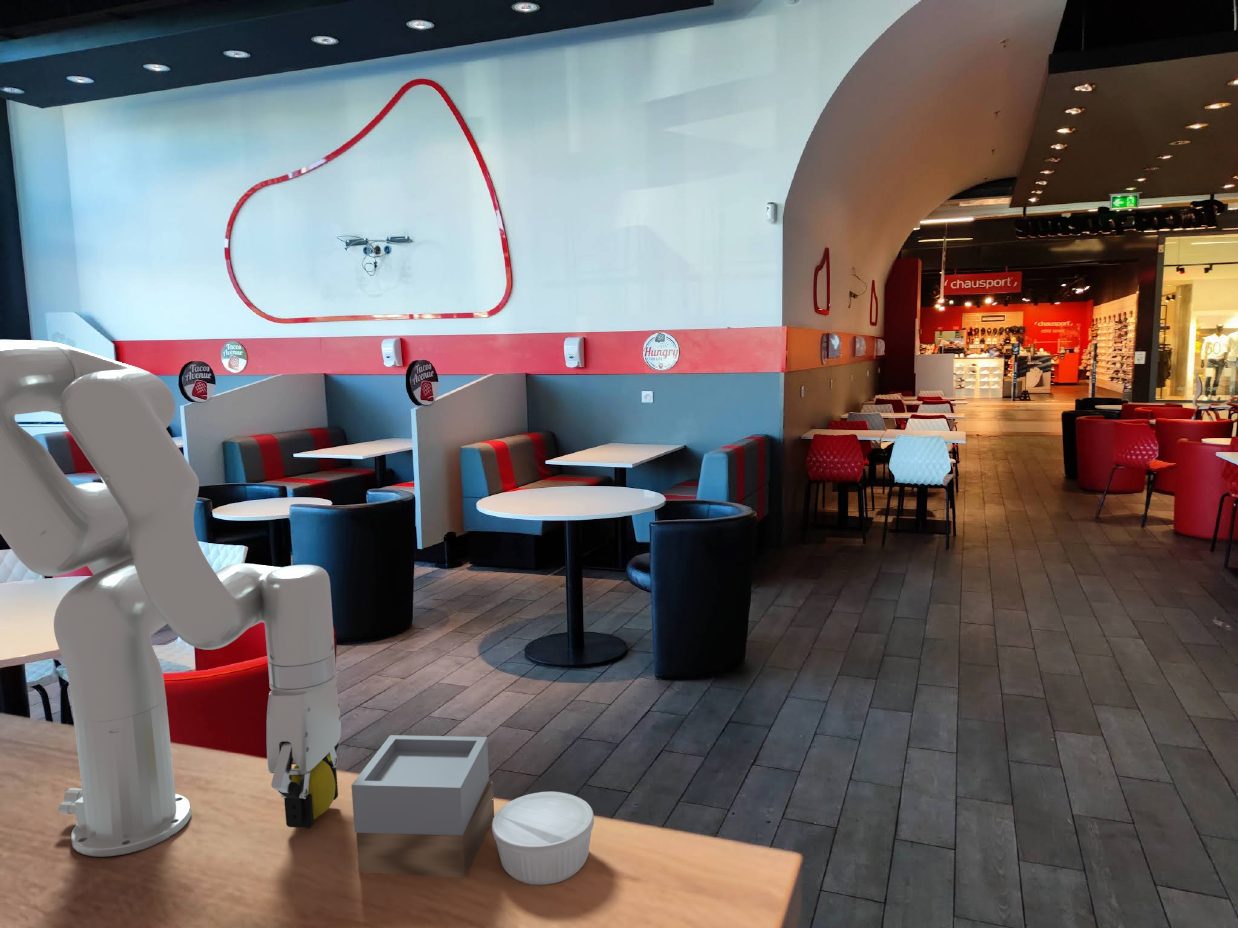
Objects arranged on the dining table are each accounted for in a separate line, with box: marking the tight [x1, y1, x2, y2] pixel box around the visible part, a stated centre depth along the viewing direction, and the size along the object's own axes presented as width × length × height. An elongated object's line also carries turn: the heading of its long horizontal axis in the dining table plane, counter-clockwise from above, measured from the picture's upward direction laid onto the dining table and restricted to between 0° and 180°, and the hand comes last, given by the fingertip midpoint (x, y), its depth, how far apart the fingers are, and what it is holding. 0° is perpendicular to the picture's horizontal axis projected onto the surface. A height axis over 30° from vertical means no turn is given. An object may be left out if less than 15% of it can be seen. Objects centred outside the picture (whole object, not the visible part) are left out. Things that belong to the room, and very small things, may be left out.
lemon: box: [291, 760, 335, 820], centre depth 104 cm, size 6×6×8 cm
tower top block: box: [351, 734, 490, 836], centre depth 99 cm, size 12×12×6 cm
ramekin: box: [491, 791, 595, 886], centre depth 95 cm, size 11×11×5 cm
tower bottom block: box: [355, 780, 495, 879], centre depth 99 cm, size 12×12×5 cm
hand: (313, 810), depth 105 cm, fingers closed on lemon, 5 cm apart
